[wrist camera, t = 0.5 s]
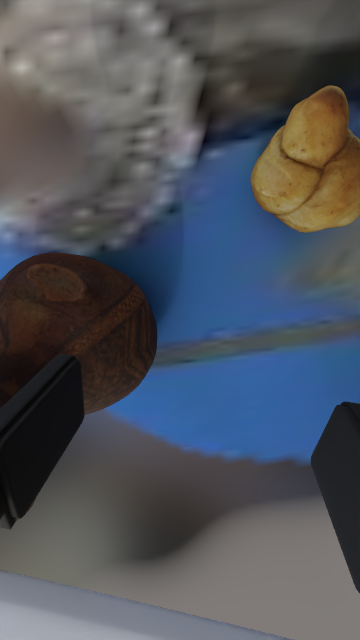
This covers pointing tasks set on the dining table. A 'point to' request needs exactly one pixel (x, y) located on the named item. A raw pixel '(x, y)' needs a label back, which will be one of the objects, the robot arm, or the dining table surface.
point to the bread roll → (312, 166)
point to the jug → (75, 326)
